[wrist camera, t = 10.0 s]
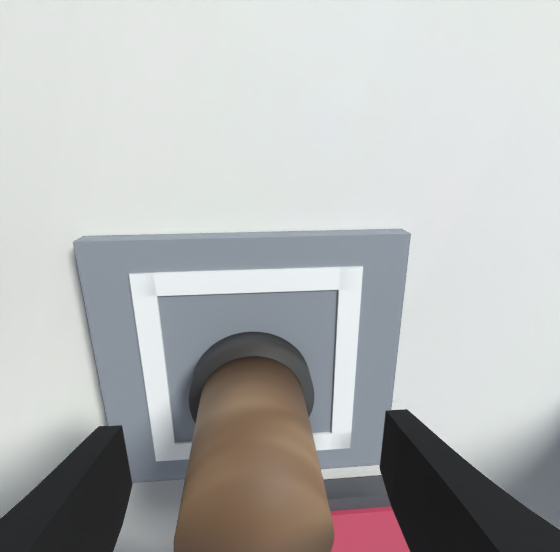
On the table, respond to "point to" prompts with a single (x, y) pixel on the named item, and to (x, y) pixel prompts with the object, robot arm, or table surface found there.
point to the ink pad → (363, 516)
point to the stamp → (253, 453)
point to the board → (244, 329)
